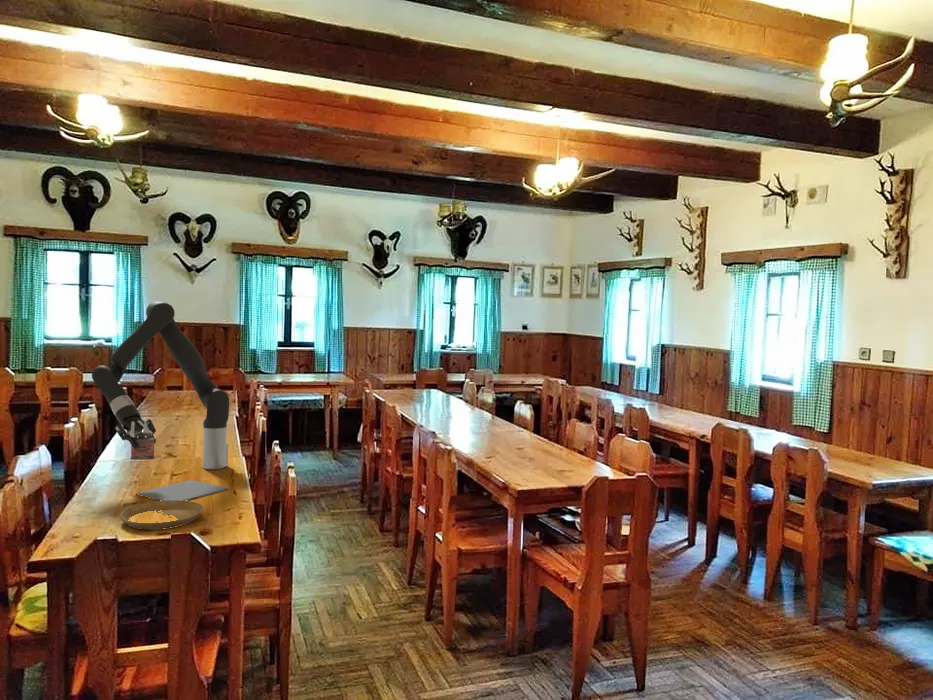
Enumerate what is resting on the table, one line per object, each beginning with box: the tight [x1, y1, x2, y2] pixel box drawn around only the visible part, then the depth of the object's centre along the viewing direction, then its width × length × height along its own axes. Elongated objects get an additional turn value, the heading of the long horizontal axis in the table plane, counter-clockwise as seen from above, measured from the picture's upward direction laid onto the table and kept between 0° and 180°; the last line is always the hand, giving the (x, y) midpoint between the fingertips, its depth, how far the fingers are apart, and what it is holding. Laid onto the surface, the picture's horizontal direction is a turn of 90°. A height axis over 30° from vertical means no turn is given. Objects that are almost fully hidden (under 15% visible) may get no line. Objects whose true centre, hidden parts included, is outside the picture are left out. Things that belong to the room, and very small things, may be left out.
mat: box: [135, 479, 229, 501], centre depth 251 cm, size 24×20×1 cm
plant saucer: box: [120, 500, 204, 530], centre depth 219 cm, size 24×24×3 cm
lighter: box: [130, 432, 156, 461], centre depth 254 cm, size 8×3×10 cm, turn 105°
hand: (145, 445), depth 253 cm, fingers closed on lighter, 6 cm apart
